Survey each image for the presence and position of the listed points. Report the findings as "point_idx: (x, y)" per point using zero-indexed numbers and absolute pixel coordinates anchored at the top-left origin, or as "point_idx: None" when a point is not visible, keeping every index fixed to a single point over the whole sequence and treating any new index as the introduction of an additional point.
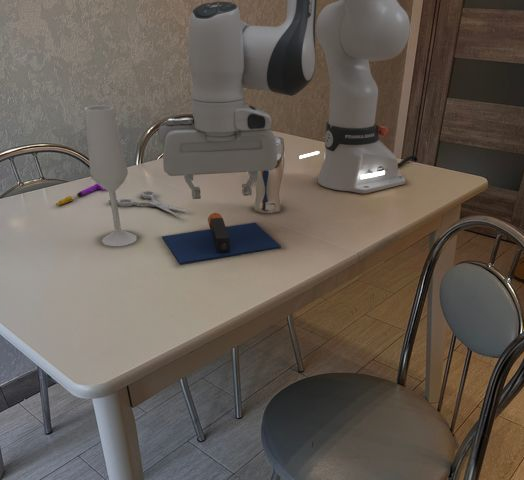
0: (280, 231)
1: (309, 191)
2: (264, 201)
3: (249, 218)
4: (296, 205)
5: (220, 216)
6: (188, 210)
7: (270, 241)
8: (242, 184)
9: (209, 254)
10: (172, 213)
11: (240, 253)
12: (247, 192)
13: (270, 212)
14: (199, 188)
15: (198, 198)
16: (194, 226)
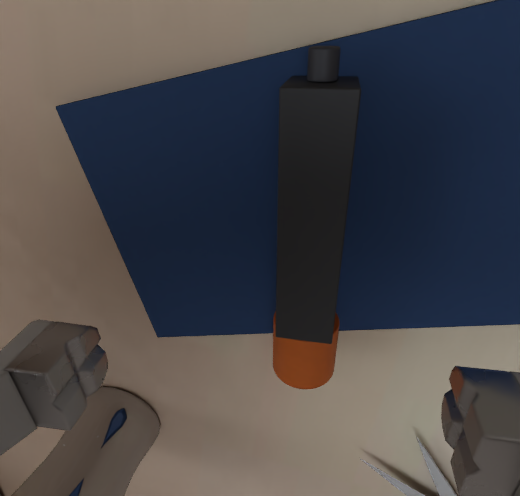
0: (73, 258)
1: (16, 464)
2: (110, 428)
3: (178, 375)
4: None
5: (281, 359)
6: (374, 469)
7: (100, 164)
8: (65, 421)
9: (403, 68)
10: (438, 468)
11: (240, 62)
12: (50, 335)
13: (109, 388)
14: (475, 463)
15: (478, 368)
16: (381, 374)
